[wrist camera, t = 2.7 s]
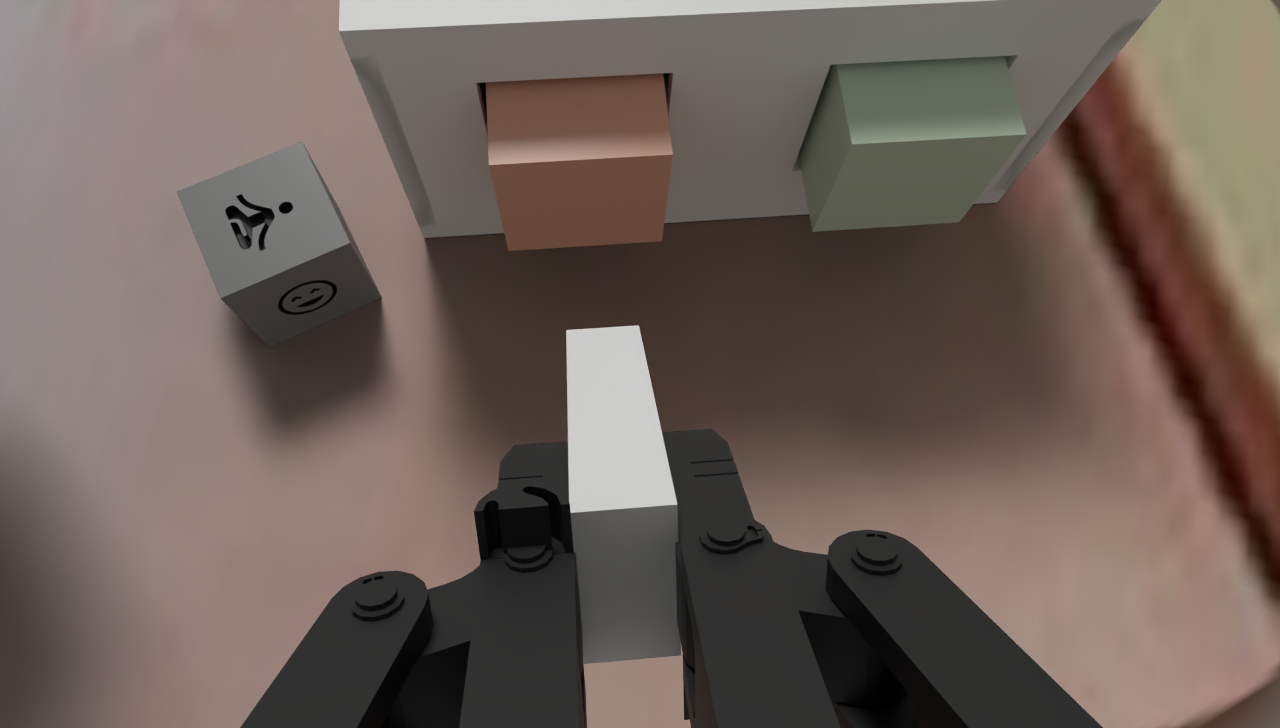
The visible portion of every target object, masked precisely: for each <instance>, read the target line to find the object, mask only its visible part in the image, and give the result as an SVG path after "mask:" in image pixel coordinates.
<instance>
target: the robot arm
mask: <svg viewBox="0 0 1280 728" xmlns="http://www.w3.org/2000/svg"><path fill="white" fill-rule="evenodd" d="M566 345H567V407H568V441H567V442H554V443H540V444H526V445H514V446H513V448H512V449H511V450H510V451H509V452H508V453H507V455H506V456H505V457H504V458H503V459H502V461H501V464H500V472H499V482H498V489H496V490H493V491H491V492H489V493H488V494H487V495H486V496H485V497H483V498H482V499H481V500H480V501H479V502H478V504H477V506H476V508H475V510H474V515H475V522H476V529H477V537H478V544H479V551H480V558H481V562H480V566H478V567H477V568H476V569H475V570H474V571H473V572H471V573H469V574H467V575H466V576H464V577H462V578H461V579H458V580H455V581H453V582H450V583H448V584H444V585H441V586H438V587H435V588H431V589H428V590H427V588H426V586H425V583H424V582H423V581H422V580H421V579H419V578H418V577H416V576H415V575H414V574H410V573H405V572H401V571H386V572H377V573H374V574H370V575H367V576H363V577H360V578H358V579H357V580H355V581H353V582H351V583H349V584H348V585H346V586H344V587H343V588H342V589H341V590H340V591H339V592H338V593H337V594H336V595H335V596H334V597H333V598H332V599H331V600H330V602H329V603H328V605H327V606H326V608H325V609H324V610H323V612H322V613H321V615H320V616H319V617H318V619H317V620H316V622H315V623H314V624H313V626H312V627H311V629H310V630H309V632H308V633H307V634H306V636H305V637H304V639H303V640H302V641H301V643H300V644H299V646H298V647H297V648H296V650H295V651H294V653H293V654H292V656H291V657H290V658H289V660H288V661H287V663H286V664H285V665H284V667H283V668H282V670H281V671H280V672H279V674H278V675H277V677H276V678H275V680H274V681H273V682H272V684H271V685H270V687H269V688H268V689H267V691H266V692H265V694H264V695H263V696H262V698H261V699H260V701H259V702H258V704H257V705H256V706H255V708H254V709H253V711H252V712H251V713H250V715H249V716H248V718H247V719H246V720H245V722H244V723H243V725H242V726H241V728H587V717H586V691H585V679H584V667H583V664H587V663H599V662H610V661H621V660H633V659H644V658H655V657H666V656H678V655H681V646H682V651H683V682H684V720H688V719H690V723H691V728H1103V727H1102V726H1101V725H1100V724H1098V723H1097V722H1096V721H1095V720H1094V719H1093V718H1092V717H1091V716H1090V715H1089V714H1088V713H1087V712H1086V711H1085V710H1084V709H1083V708H1082V707H1081V706H1080V705H1079V704H1078V703H1077V702H1076V701H1075V700H1074V699H1073V698H1072V697H1071V696H1070V695H1069V694H1068V693H1067V692H1066V691H1064V690H1063V689H1062V688H1061V687H1060V686H1059V685H1058V684H1057V683H1056V682H1055V681H1054V680H1053V679H1052V678H1051V677H1050V676H1049V675H1048V674H1047V673H1046V672H1045V671H1044V670H1043V669H1042V668H1041V667H1040V666H1039V665H1038V664H1037V663H1036V662H1035V661H1034V660H1033V659H1032V658H1031V657H1029V656H1028V655H1027V654H1026V653H1025V652H1024V651H1023V650H1022V649H1021V648H1020V647H1019V646H1018V645H1017V644H1016V643H1015V642H1014V641H1013V640H1012V639H1011V638H1010V637H1009V636H1008V635H1007V634H1006V633H1005V632H1004V631H1003V630H1002V629H1001V628H1000V627H999V626H998V625H997V624H996V623H994V622H993V621H992V620H991V619H990V618H989V617H988V616H987V615H986V614H985V613H984V612H983V611H982V610H981V609H980V608H979V607H978V606H977V605H976V604H975V603H974V602H973V601H972V600H971V599H970V598H969V597H968V596H967V595H966V594H965V593H964V592H963V591H962V590H961V589H959V588H958V587H957V586H956V585H955V584H954V583H953V582H952V581H951V580H950V579H949V578H948V577H947V576H946V575H945V574H944V573H943V572H942V571H941V570H940V569H939V568H938V567H937V566H936V565H935V564H934V563H933V562H932V561H931V560H930V559H929V558H928V557H927V556H926V555H924V554H923V553H922V552H921V551H920V550H919V549H918V548H917V547H916V546H914V545H913V544H911V543H910V542H909V541H907V540H906V539H904V538H902V537H899V536H896V535H894V534H891V533H888V532H882V531H874V530H861V531H852V532H849V533H847V534H844V535H842V536H839V537H837V538H836V539H835V540H834V542H833V543H832V544H831V545H830V546H829V551H828V555H824V554H816V553H809V552H802V551H798V550H793V549H789V548H786V547H784V546H781V545H779V544H777V543H775V542H773V539H772V537H771V535H770V533H769V532H768V531H767V529H766V528H765V526H764V525H762V524H760V523H759V522H757V521H755V520H754V517H753V514H752V512H751V509H750V506H749V503H748V500H747V497H746V494H745V491H744V489H743V486H742V483H741V480H740V477H739V476H738V471H737V468H736V465H735V463H734V462H733V457H732V454H731V451H730V448H729V445H728V443H727V442H726V441H725V440H724V439H723V438H721V437H720V436H719V435H718V434H717V433H715V432H714V431H713V430H712V429H704V430H690V431H676V432H663V433H662V431H661V426H660V421H659V417H658V412H657V407H656V403H655V398H654V393H653V389H652V384H651V379H650V375H649V370H648V365H647V361H646V356H645V352H644V347H643V342H642V338H641V333H640V328H639V325H636V326H621V327H605V328H590V329H575V330H566ZM680 640H681V643H680Z"/></svg>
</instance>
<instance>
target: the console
mask: <svg viewBox="0 0 1280 728" xmlns="http://www.w3.org/2000/svg"><path fill="white" fill-rule="evenodd" d="M1160 2H1161V0H340V12H339V33H340V35H341V37H342V40H343V42H344V45H345V47H346V50H347V52H348V54H349V57H350V59H351V62H352V64H353V67H354V69H355V71H356V74H357V76H358V79H359V81H360V84H361V86H362V88H363V91H364V93H365V96H366V98H367V101H368V103H369V105H370V108H371V110H372V113H373V115H374V118H375V120H376V122H377V125H378V127H379V130H380V132H381V135H382V137H383V139H384V142H385V144H386V147H387V149H388V152H389V154H390V156H391V159H392V161H393V164H394V166H395V169H396V171H397V173H398V176H399V178H400V181H401V183H402V185H403V188H404V190H405V193H406V195H407V198H408V200H409V202H410V205H411V207H412V210H413V212H414V215H415V217H416V219H417V222H418V224H419V227H420V229H421V232H422V234H423V236H424V238H432V237H448V236H464V235H481V234H497V233H504V229H503V225H502V221H501V216H500V212H499V207H498V203H497V199H496V194H495V190H494V186H493V181H492V177H491V172H490V168H489V157H488V129H487V100H486V82H501V81H520V80H540V79H560V78H579V77H599V76H619V75H638V74H658V73H663V76H664V84H665V93H666V101H667V109H668V118H669V126H670V135H671V143H672V151H673V158H672V166H671V174H670V182H669V190H668V198H667V206H666V214H665V222H664V223H674V222H691V221H707V220H723V219H739V218H755V217H771V216H788V215H804V214H809V210H808V205H807V199H806V193H805V188H804V182H803V176H802V171H801V165H800V159H799V151H800V148H801V145H802V143H803V140H804V137H805V134H806V132H807V129H808V126H809V123H810V120H811V118H812V115H813V112H814V109H815V107H816V104H817V101H818V98H819V96H820V93H821V90H822V87H823V85H824V82H825V79H826V76H827V74H828V71H829V68H830V65H835V64H855V63H874V62H894V61H914V60H933V59H953V58H973V57H992V56H1005V59H1006V63H1007V66H1008V70H1009V73H1010V77H1011V81H1012V84H1013V88H1014V91H1015V95H1016V98H1017V102H1018V105H1019V109H1020V112H1021V116H1022V120H1023V123H1024V127H1025V130H1026V134H1027V135H1026V136H1025V137H1024V139H1023V140H1022V141H1021V142H1020V144H1019V145H1018V146H1017V148H1016V149H1015V150H1014V152H1013V153H1012V154H1011V156H1010V157H1009V158H1008V159H1007V161H1006V162H1005V163H1004V165H1003V166H1002V167H1001V169H1000V170H999V171H998V172H997V174H996V175H995V176H994V178H993V179H992V180H991V182H990V183H989V184H988V186H987V187H986V188H985V189H984V191H983V192H982V193H981V195H980V196H979V197H978V199H977V200H976V201H975V203H974V204H981V203H997V202H998V201H999V199H1000V198H1001V197H1002V196H1003V195H1004V193H1005V192H1006V191H1007V190H1008V188H1009V187H1010V186H1011V185H1012V183H1013V182H1014V181H1015V180H1016V179H1017V177H1018V176H1019V175H1020V174H1021V172H1022V171H1023V170H1024V169H1025V168H1026V166H1027V165H1028V164H1029V163H1030V161H1031V160H1032V159H1033V158H1034V156H1035V155H1036V154H1037V153H1038V152H1039V150H1040V149H1041V148H1042V147H1043V145H1044V144H1045V143H1046V142H1047V140H1048V139H1049V138H1050V137H1051V136H1052V134H1053V133H1054V132H1055V131H1056V129H1057V128H1058V127H1059V126H1060V124H1061V123H1062V122H1063V121H1064V120H1065V118H1066V117H1067V116H1068V115H1069V113H1070V112H1071V111H1072V110H1073V108H1074V107H1075V106H1076V105H1077V104H1078V102H1079V101H1080V100H1081V99H1082V97H1083V96H1084V95H1085V94H1086V93H1087V91H1088V90H1089V89H1090V88H1091V86H1092V85H1093V84H1094V83H1095V81H1096V80H1097V79H1098V78H1099V77H1100V75H1101V74H1102V73H1103V72H1104V70H1105V69H1106V68H1107V67H1108V65H1109V64H1110V63H1111V62H1112V61H1113V59H1114V58H1115V57H1116V56H1117V54H1118V53H1119V52H1120V51H1121V49H1122V48H1123V47H1124V46H1125V45H1126V43H1127V42H1128V41H1129V40H1130V38H1131V37H1132V36H1133V35H1134V33H1135V32H1136V31H1137V30H1138V29H1139V27H1140V26H1141V25H1142V24H1143V22H1144V21H1145V20H1146V19H1147V18H1148V16H1149V15H1150V14H1151V13H1152V11H1153V10H1154V9H1155V8H1156V6H1157V5H1158V4H1159V3H1160Z"/></svg>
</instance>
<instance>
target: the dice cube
mask: <svg viewBox="0 0 1280 728" xmlns="http://www.w3.org/2000/svg"><path fill="white" fill-rule="evenodd" d="M177 194H178V196H179V199H180V201H181V204H182V206H183V209H184V211H185V213H186V216H187V218H188V221H189V223H190V226H191V228H192V230H193V233H194V235H195V238H196V240H197V243H198V245H199V247H200V250H201V252H202V255H203V257H204V260H205V262H206V264H207V267H208V269H209V272H210V274H211V276H212V279H213V281H214V284H215V286H216V289H217V291H218V293H219V296H220V298H221V299H222V300H223V301H224V302H225V303H226V304H227V305H228V306H229V307H230V308H231V309H232V310H233V311H234V312H235V313H236V314H237V315H238V316H239V317H240V318H241V319H242V320H243V321H244V322H245V323H246V324H247V325H248V326H249V327H250V328H251V329H252V330H253V331H254V332H255V333H256V334H257V336H258V337H259V338H260V339H261V340H262V341H263V342H264V343H265V344H266V345H267V346H268V347H269V348H270V347H272V346H274V345H276V344H279V343H281V342H283V341H285V340H287V339H290V338H292V337H294V336H296V335H299V334H301V333H303V332H305V331H308V330H310V329H312V328H314V327H317V326H319V325H321V324H323V323H325V322H328V321H330V320H332V319H334V318H337V317H339V316H341V315H343V314H346V313H348V312H350V311H352V310H355V309H357V308H359V307H361V306H363V305H366V304H368V303H370V302H372V301H375V300H377V299H379V298H381V295H380V293H379V291H378V289H377V287H376V284H375V282H374V280H373V278H372V276H371V274H370V272H369V270H368V268H367V266H366V264H365V261H364V259H363V257H362V255H361V253H360V251H359V249H358V247H357V245H356V243H355V241H354V238H353V236H352V234H351V232H350V230H349V228H348V226H347V224H346V222H345V220H344V218H343V215H342V213H341V211H340V209H339V207H338V205H337V203H336V202H335V200H334V198H333V196H332V194H331V193H330V191H329V189H328V187H327V185H326V184H325V182H324V180H323V178H322V176H321V175H320V173H319V171H318V169H317V168H316V166H315V164H314V162H313V160H312V159H311V157H310V155H309V153H308V151H307V150H306V148H305V146H304V144H303V142H300V143H297V144H295V145H292V146H290V147H287V148H285V149H282V150H280V151H277V152H275V153H272V154H270V155H267V156H265V157H262V158H260V159H257V160H255V161H252V162H250V163H247V164H245V165H242V166H240V167H237V168H235V169H232V170H230V171H227V172H225V173H222V174H220V175H217V176H215V177H212V178H210V179H207V180H205V181H203V182H200V183H198V184H195V185H193V186H190V187H188V188H185V189H183V190H180V191H178V192H177Z"/></svg>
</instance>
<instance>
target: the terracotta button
mask: <svg viewBox="0 0 1280 728" xmlns="http://www.w3.org/2000/svg"><path fill="white" fill-rule="evenodd" d="M486 100H487V129H488V157H489V168H490V172H491V177H492V181H493V186H494V190H495V194H496V199H497V203H498V207H499V212H500V216H501V221H502V225H503V229H504V234H505V238H506V242H507V247H508V251H516V250H532V249H548V248H563V247H579V246H595V245H611V244H627V243H642V242H658V241H662V238H663V230H664V222H665V214H666V206H667V198H668V190H669V182H670V174H671V166H672V158H673V151H672V143H671V135H670V126H669V118H668V109H667V101H666V93H665V84H664V76H663V73H658V74H638V75H619V76H599V77H579V78H560V79H540V80H520V81H501V82H486Z"/></svg>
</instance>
